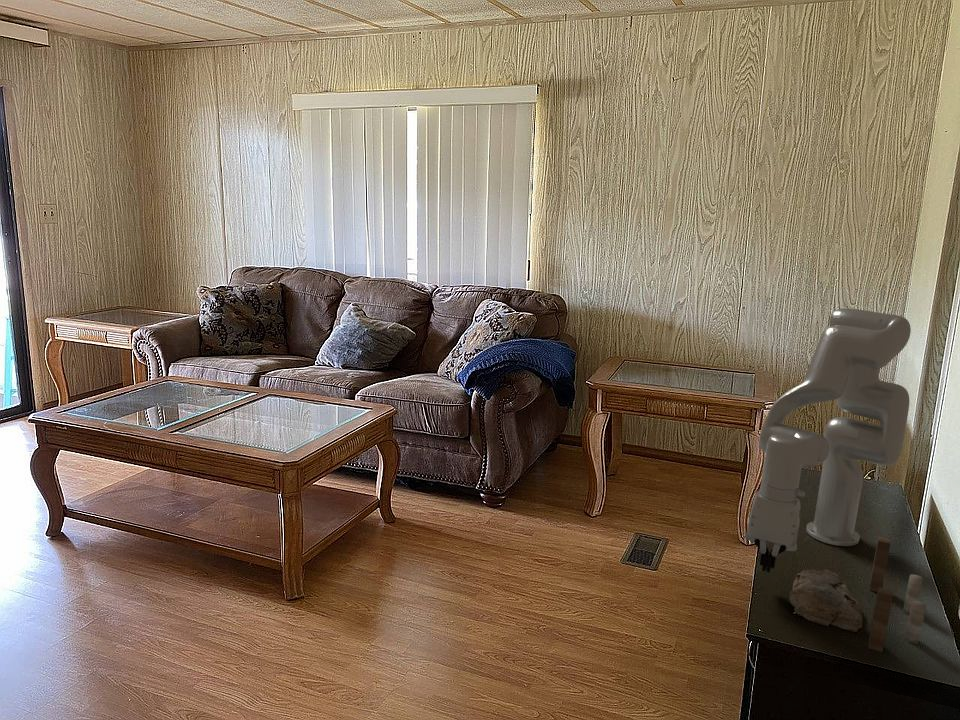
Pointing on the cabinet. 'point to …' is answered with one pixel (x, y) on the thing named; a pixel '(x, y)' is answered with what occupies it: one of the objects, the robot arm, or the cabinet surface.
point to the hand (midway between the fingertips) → (766, 569)
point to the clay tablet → (825, 600)
